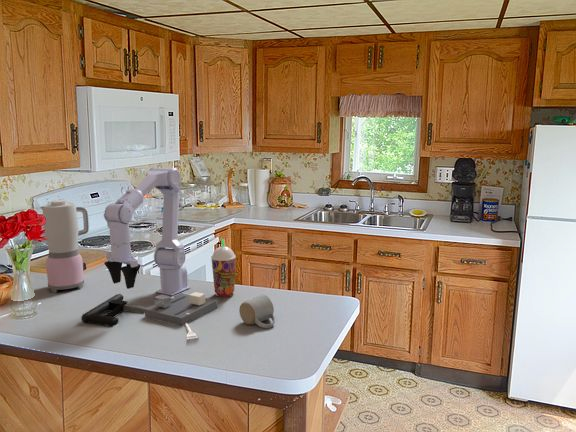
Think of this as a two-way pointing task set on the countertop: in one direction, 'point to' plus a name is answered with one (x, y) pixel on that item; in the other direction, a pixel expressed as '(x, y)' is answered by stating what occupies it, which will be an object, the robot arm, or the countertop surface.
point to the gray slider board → (180, 310)
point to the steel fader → (162, 301)
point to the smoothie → (223, 271)
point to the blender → (64, 245)
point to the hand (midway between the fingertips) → (123, 285)
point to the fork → (190, 332)
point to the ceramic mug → (257, 311)
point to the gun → (110, 304)
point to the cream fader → (197, 298)
